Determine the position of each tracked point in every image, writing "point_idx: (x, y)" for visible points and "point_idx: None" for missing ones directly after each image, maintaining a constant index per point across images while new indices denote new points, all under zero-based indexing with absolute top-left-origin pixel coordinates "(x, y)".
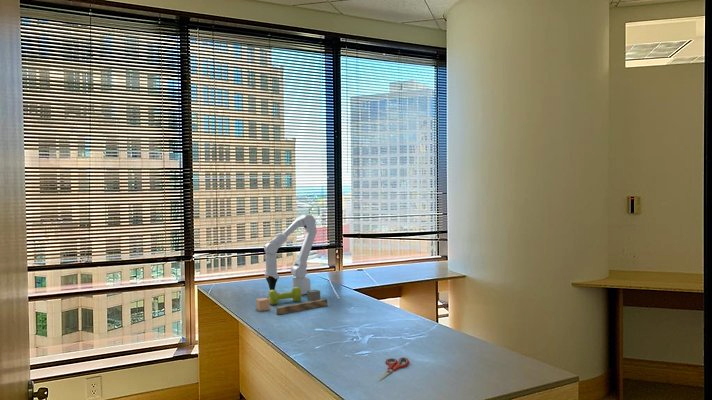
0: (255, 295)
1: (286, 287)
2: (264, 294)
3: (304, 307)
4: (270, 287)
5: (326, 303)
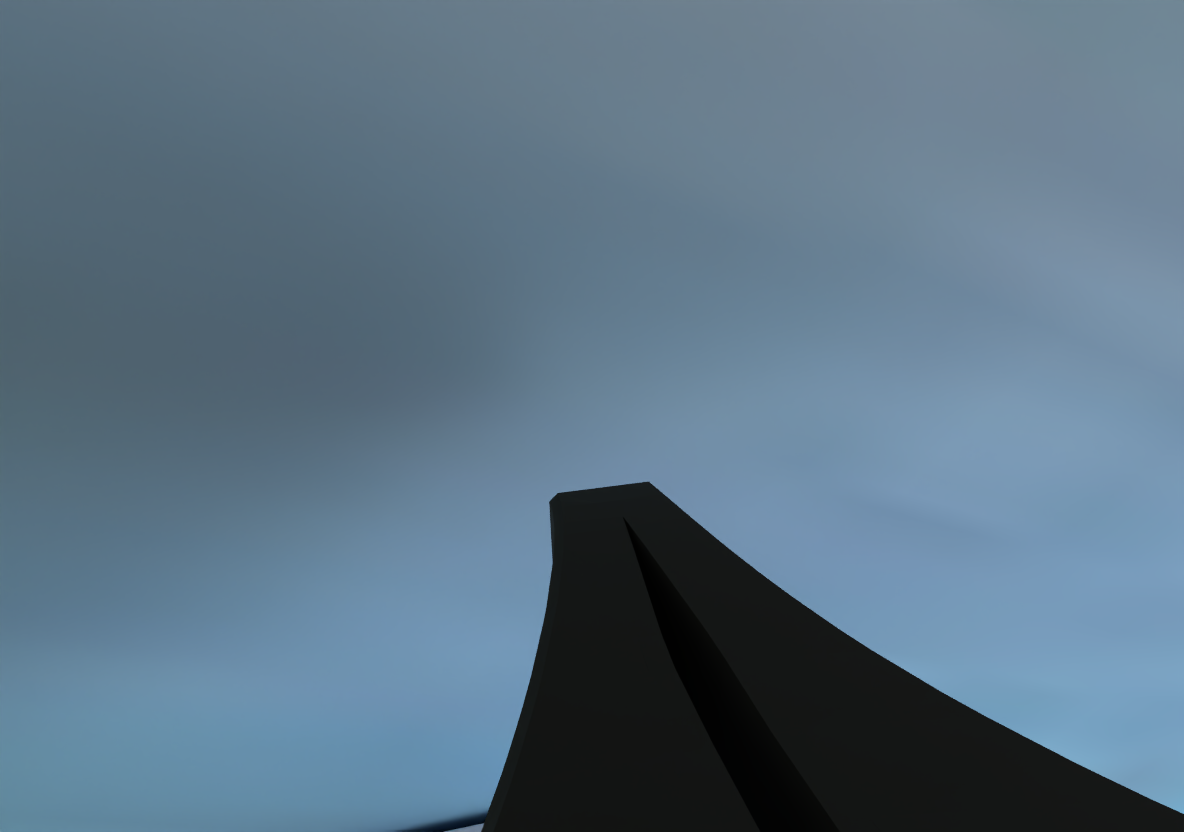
0: (1161, 82)
1: None
2: (1028, 346)
3: None
4: (553, 571)
5: None
